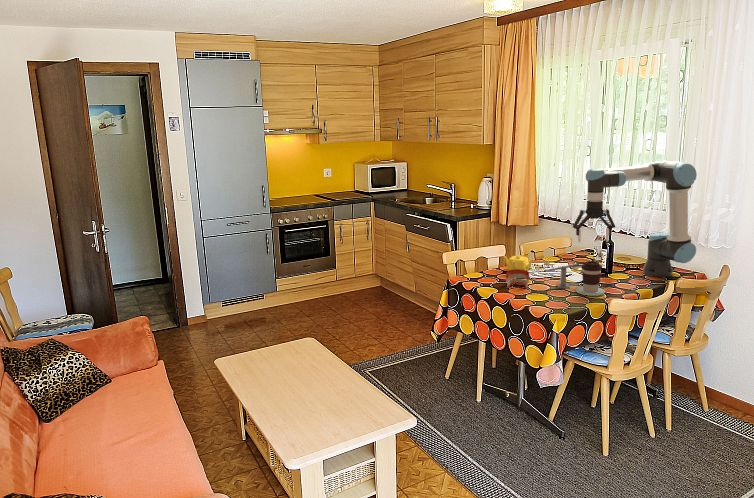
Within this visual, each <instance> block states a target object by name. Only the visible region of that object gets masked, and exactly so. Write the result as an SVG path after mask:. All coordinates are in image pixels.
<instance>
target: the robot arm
mask: <svg viewBox="0 0 754 498" xmlns="http://www.w3.org/2000/svg"><path fill="white" fill-rule="evenodd" d="M585 180H586V181H587V195H586V200H587V201H586V209H585V210H583V209H579V214H578V215H577V218H576V219H575V221H574V223H573V224H572V228H573V229H575V232H576V233H575V234H576V236H577V242H578V243H581V239H582V237H581V235H582V229H581V228H582V227H583V226H584V225H585V224H586V222H588V221H589V220H590V219H591V220H593V219H595V220H597V219H598V220H599V219H600V220H601V222H603V224H605V226H606V229H605V242H606V243H608V242H609V240H610V238H609V237H610V236H611V235H612V229H614V228H616V225H615V223H614V221H613V218H612V217H611V214H610V209H608V208H606V209H604V201H603V200H604V189H606V188H614V187H615V188H618V187H622V186H624V185H625V184H626V182H630V181H631V182H632V181H646V182H657V183H658V182H659V183H664V184H665V189H666V191H668V192H669V193H668V194H669V196H668V198H669V199H668V202H669V206H668V207H669V209H668V210H669V212H668V213H669V233H665V232H663V233H662V232H661V233H659V232H658V233H652V234H650V235H649V237H648V243H647V246H648V247H647V259H646V261H645V264H644V266H643V268H642V273H643V274H644V275H646V276H650V277H658V278H668V277H671V276H673V274H674V273H673V272H674V271H673V270H674V269H673V266H672V263H671V261H672V262H675V263H678V264H687V263H689V262H691V261H692V260H693V259H694V258H695V256H696V254H697V246H696V245H695V244H694V243H693V242H692V236H691V235H689V219H688V217H689V206H688V205H689V198H688V197H689V190H690V189H691V188H692V185H693V184H694V183H695V181H696V180H697V170H696V168H695V167H694V166H693V165H692V164H691V163H688V162H684V161H674V160H673V161H671V160H662V161H654V162H646V163H644V164H643V165H634V166H621V167H612V168H590V169H589V170H587V171H586V173H585ZM603 213H604V214H605V215H606V217H607V219H608V221H609V223H610V224H609V223H608V221H607V220H606V219H605V218H604V217H603V216H602V215H603ZM585 214H586V215H585ZM583 215H585V217H584V218H583ZM582 218H583V219H582ZM581 219H582V220H581Z"/></svg>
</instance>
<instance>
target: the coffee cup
mask: <svg viewBox="0 0 754 498" xmlns="http://www.w3.org/2000/svg"><path fill="white" fill-rule="evenodd" d="M581 267H582V269H583V271H581V272H582V276H581V277H582V285H583V290H584V291H586V292H597V291H598V288H600V287H599V285H600V282H601V275H602V272H601V271H602V270H603V265H601V264H600V263H599V262H598V261H593V260H588V261H585V262H584V263H583V264H581Z"/></svg>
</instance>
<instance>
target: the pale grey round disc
mask: <svg viewBox="0 0 754 498" xmlns="http://www.w3.org/2000/svg"><path fill="white" fill-rule="evenodd" d="M575 292H576V293H578V294H580V295H583V296H586V295H587V296H589V297H597V296H602V295H604V294H605V293H606V291H605V290H604V288H601V287H598V291H597V292H586V291H584V290H583V286H578V287H577V288H576V289H575Z"/></svg>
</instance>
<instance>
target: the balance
mask: <svg viewBox="0 0 754 498" xmlns="http://www.w3.org/2000/svg"><path fill="white" fill-rule="evenodd" d="M543 264H544V265H546V266H554V265H556V263H555V262H554V261H544V263H543ZM569 268H572V271H574V272H583V269H582V266H580V263H574V264H568V265H561V266H560V267H559V266H558V267H554V268H549V269H548V272H552V271H553V272H554V271H558V270H560V282H558V283H556V287H557V289H570V288H571V286H570V284H569V283H567V269H569Z"/></svg>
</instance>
